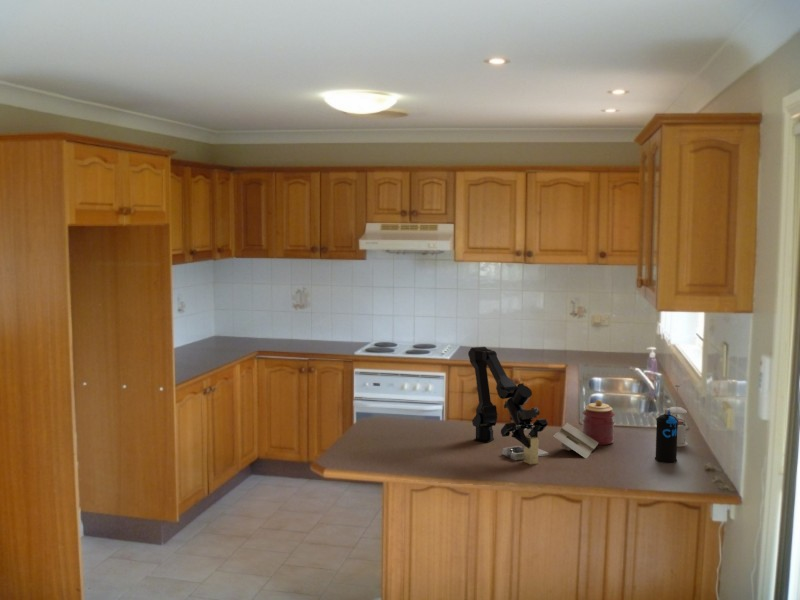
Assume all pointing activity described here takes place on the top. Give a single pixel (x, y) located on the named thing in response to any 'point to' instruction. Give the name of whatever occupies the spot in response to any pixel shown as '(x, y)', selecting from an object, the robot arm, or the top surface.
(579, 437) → the pale grey slotted block
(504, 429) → the robot arm
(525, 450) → the tan rectangular pillar
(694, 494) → the top surface
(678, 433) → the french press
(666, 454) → the aerosol can
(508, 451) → the hinge base
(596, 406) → the canister
